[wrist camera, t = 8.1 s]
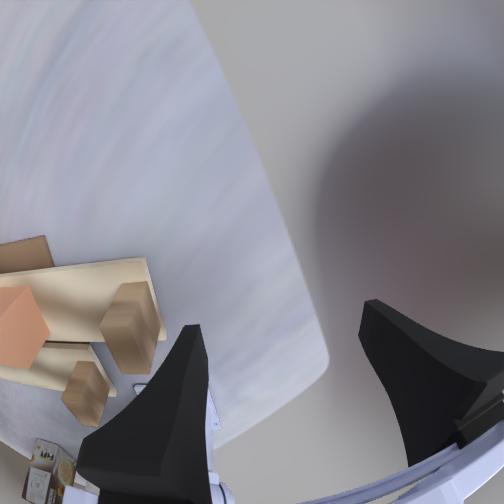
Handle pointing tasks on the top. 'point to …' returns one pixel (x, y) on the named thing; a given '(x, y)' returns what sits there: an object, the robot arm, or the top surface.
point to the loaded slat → (99, 307)
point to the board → (27, 260)
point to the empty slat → (69, 378)
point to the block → (20, 327)
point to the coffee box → (48, 474)
